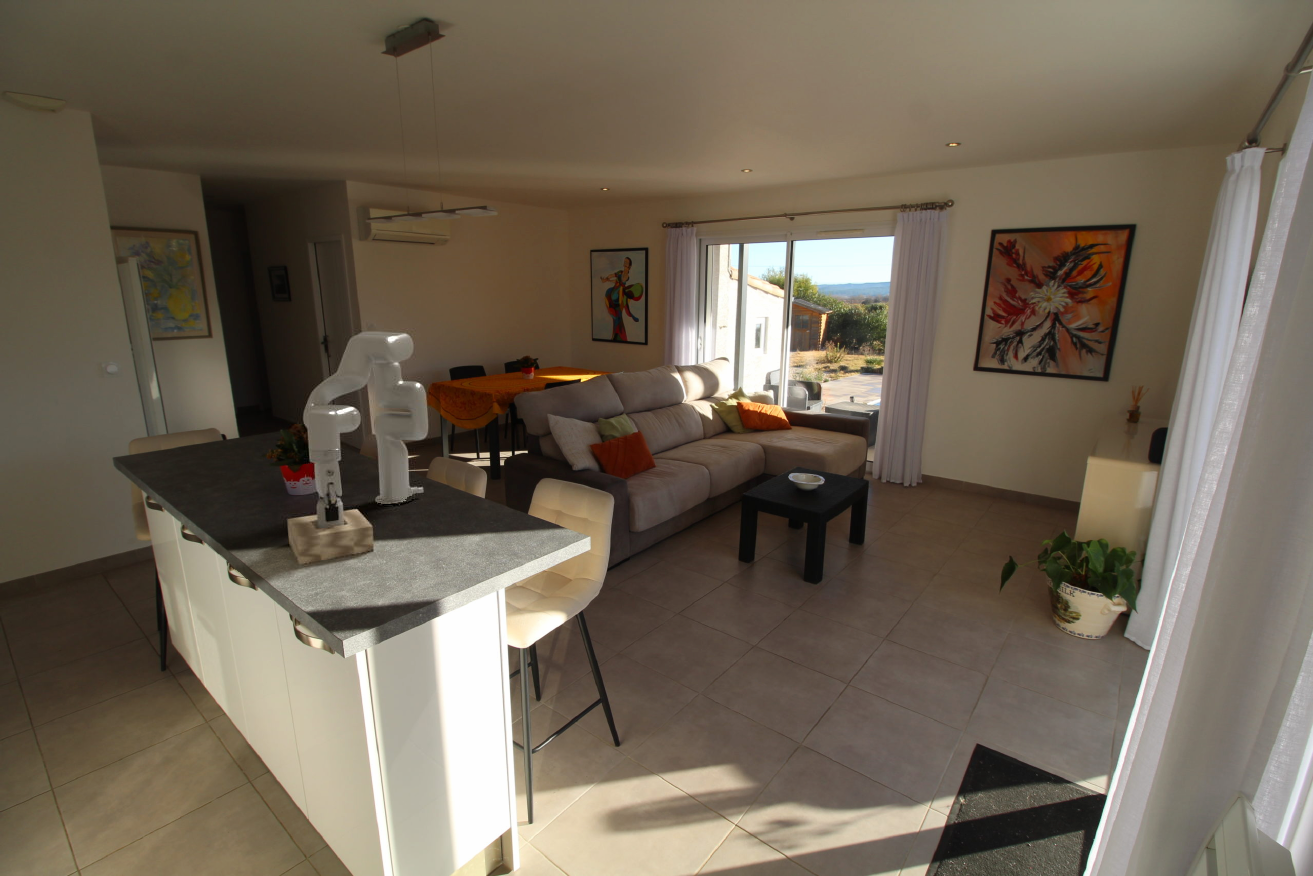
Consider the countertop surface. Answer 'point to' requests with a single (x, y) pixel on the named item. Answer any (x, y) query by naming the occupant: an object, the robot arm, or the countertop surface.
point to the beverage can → (321, 514)
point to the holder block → (329, 537)
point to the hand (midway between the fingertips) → (329, 516)
